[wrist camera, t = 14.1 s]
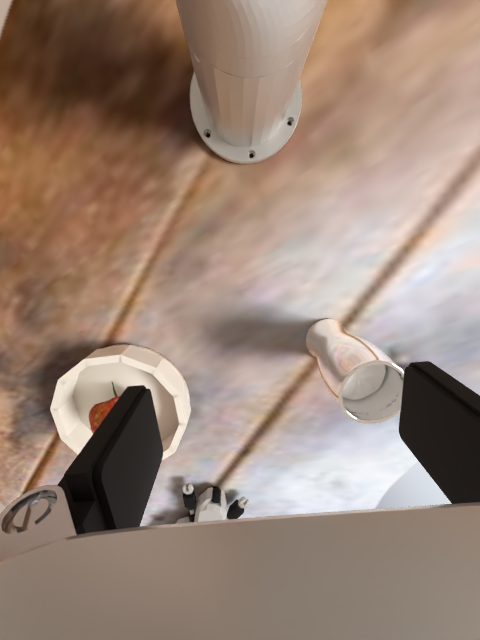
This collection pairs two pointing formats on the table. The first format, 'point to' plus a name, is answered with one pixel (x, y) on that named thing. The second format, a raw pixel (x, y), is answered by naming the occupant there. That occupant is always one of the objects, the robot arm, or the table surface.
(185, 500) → the robot toy
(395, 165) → the table surface
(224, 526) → the robot arm
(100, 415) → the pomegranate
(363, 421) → the beer glass
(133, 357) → the fruit bowl
